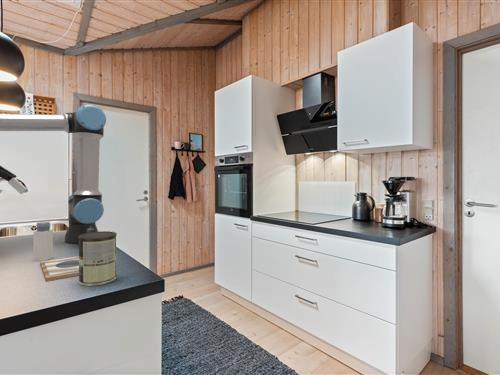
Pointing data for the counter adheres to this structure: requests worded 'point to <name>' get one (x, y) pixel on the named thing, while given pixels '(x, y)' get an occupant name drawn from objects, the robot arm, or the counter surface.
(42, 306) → the counter surface
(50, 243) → the dome-capped white pillar
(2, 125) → the robot arm
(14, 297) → the counter surface
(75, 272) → the picture frame
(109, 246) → the coffee can
